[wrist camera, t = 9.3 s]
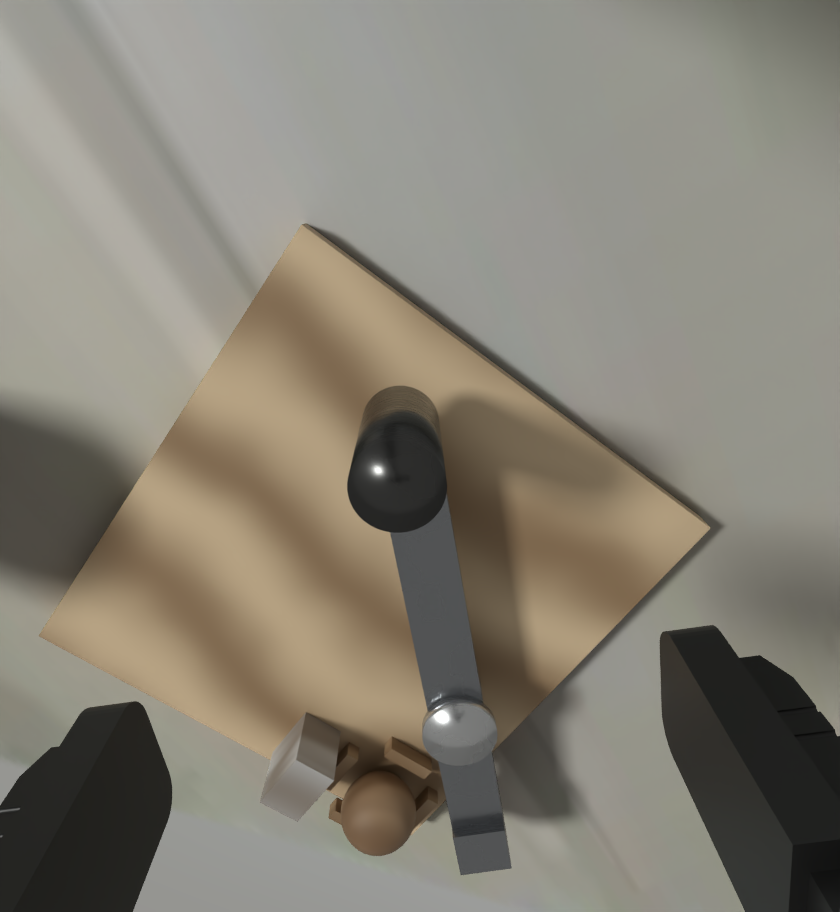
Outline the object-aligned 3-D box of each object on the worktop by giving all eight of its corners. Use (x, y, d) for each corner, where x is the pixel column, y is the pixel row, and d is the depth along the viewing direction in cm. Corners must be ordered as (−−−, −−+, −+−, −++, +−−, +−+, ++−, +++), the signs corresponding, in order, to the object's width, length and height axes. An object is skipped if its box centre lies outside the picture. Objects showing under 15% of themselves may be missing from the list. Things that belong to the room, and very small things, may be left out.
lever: (512, 823, 34) (541, 995, 27) (449, 831, 34) (460, 1006, 27) (436, 366, 26) (445, 431, 18) (353, 380, 26) (330, 450, 19)
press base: (306, 223, 26) (287, 227, 22) (699, 516, 30) (742, 562, 27) (45, 630, 32) (-7, 690, 28) (403, 824, 37) (402, 898, 33)
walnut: (371, 742, 33) (366, 803, 30) (430, 775, 34) (432, 838, 31) (330, 788, 34) (321, 852, 31) (388, 819, 35) (386, 885, 32)
